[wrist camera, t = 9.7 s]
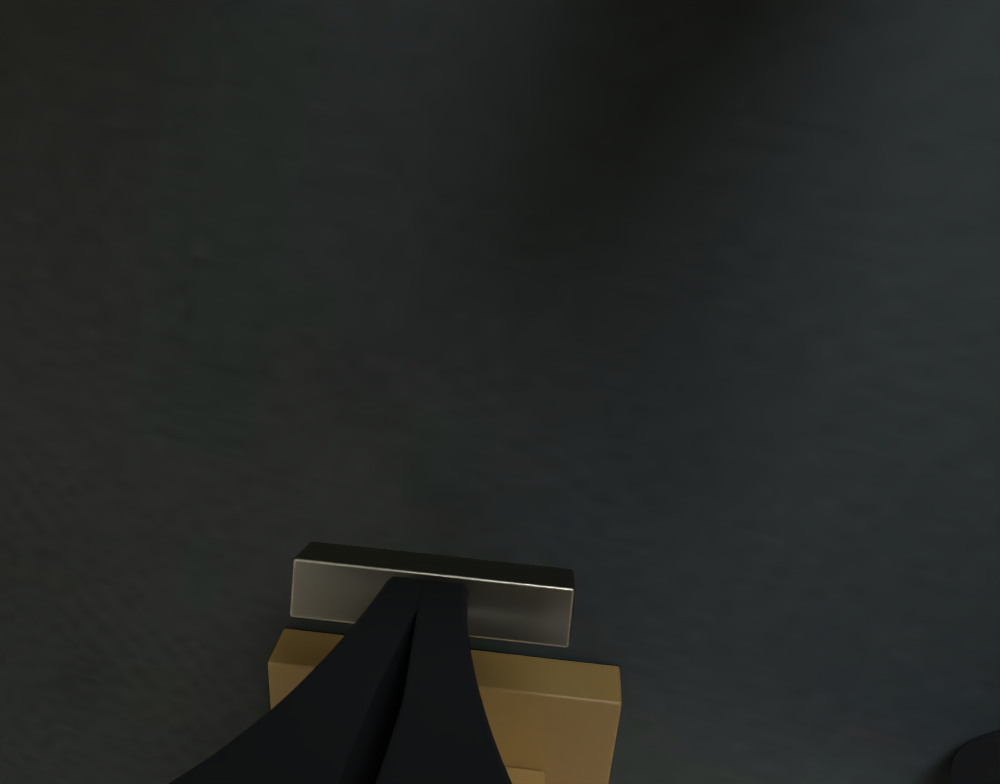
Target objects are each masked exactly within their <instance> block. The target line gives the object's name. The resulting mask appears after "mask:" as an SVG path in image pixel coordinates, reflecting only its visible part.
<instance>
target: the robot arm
mask: <svg viewBox="0 0 1000 784" xmlns="http://www.w3.org/2000/svg"><path fill="white" fill-rule="evenodd" d="M468 602H469V589H468V588H467V587H466V586H465V585H464V584H460V583H451V582H442V581H433V580H423V579H414V578H405V577H396V576H393V577H392V578H390V579H389V580H387V581H386V583H385V584H384V586H383V587H382V589H381V590H380V592H379V593H378V594H377V596H376V597H375V598H374V600H373V601H372V602H371V604H370V605H369V606H368V608H367V609H366V610H365V611H364V613H363V614H362V615H361V616H360V618H359V619H358V620H357V621H356V623H355V624H354V625H353V626H352V627H351V629H350V630H349V631H348V632H347V633H346V634H345V635H344V637H343V638H342V639H341V640H340V641H339V642H338V643H337V645H336V646H335V647H334V648H333V649H332V650H331V651H330V653H329V654H328V655H327V656H326V657H325V658H324V659H323V660H322V661H321V662H320V663H319V664H318V665H317V666H316V667H315V668H314V669H313V670H312V671H311V672H310V673H309V674H308V675H307V676H306V677H305V678H304V679H303V680H302V681H301V682H300V683H299V684H298V685H297V686H296V687H295V688H294V689H293V690H292V691H291V692H290V693H289V694H288V695H287V696H286V697H285V698H283V699H282V700H281V701H280V702H279V703H278V704H277V705H276V706H275V707H273V708H272V709H271V710H270V711H269V712H268V713H266V714H265V715H264V716H263V717H262V718H260V719H259V720H258V721H257V722H256V723H254V724H253V725H252V726H251V727H249V728H248V729H247V730H246V731H244V732H243V733H242V734H240V735H239V736H238V737H236V738H235V739H234V740H232V741H231V742H230V743H229V744H227V745H226V746H225V747H223V748H222V749H221V750H219V751H218V752H216V753H215V754H214V755H212V756H211V757H209V758H208V759H206V760H205V761H204V762H202V763H201V764H199V765H198V766H196V767H194V768H193V769H191V770H190V771H188V772H187V773H185V774H183V775H182V776H180V777H179V778H177V779H175V780H174V781H172V782H171V783H169V784H512V782H511V780H510V777H509V775H508V773H507V770H506V768H505V765H504V763H503V761H502V758H501V756H500V753H499V750H498V748H497V745H496V742H495V740H494V737H493V734H492V731H491V728H490V725H489V722H488V719H487V716H486V713H485V709H484V706H483V702H482V699H481V695H480V691H479V687H478V683H477V679H476V675H475V670H474V665H473V660H472V655H471V649H470V643H469V635H468V625H467V618H468Z"/></svg>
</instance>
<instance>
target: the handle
mask: <svg viewBox="0 0 1000 784" xmlns="http://www.w3.org/2000/svg"><path fill="white" fill-rule="evenodd" d="M393 576H396V577H405V578H414V579H423V580H433V581H442V582H451V583H460V584H464V585H465V586H466V587H467V588H468V589H469V602H468V618H467V625H468V635H469V637H477V638H486V639H495V640H504V641H513V642H522V643H531V644H540V645H548V646H557V647H568V646H569V645H570V636H571V626H572V617H573V607H574V597H575V582H574V572H573V570H571V569H563V568H554V567H545V566H535V565H526V564H517V563H508V562H498V561H489V560H480V559H470V558H461V557H452V556H442V555H433V554H424V553H415V552H405V551H396V550H387V549H377V548H368V547H359V546H350V545H340V544H331V543H322V542H310V543H309V544H308V545H307V546H306V547H305V548H304V549H303V550H302V551H301V552H300V553H299V554H298V555H297V556H296V557H295V558H294V560H293V572H292V588H291V603H290V616H292V617H300V618H309V619H318V620H326V621H335V622H344V623H353V624H355V623H356V621H357V620H358V619H359V618H360V616H361V615H362V614H363V613H364V611H365V610H366V609H367V608H368V606H369V605H370V604H371V602H372V601H373V600H374V598H375V597H376V596H377V594H378V593H379V592H380V590H381V589H382V587H383V586H384V584H385V583H386V581H387V580H389V579H390V578H392V577H393Z"/></svg>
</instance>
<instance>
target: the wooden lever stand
mask: <svg viewBox="0 0 1000 784" xmlns="http://www.w3.org/2000/svg"><path fill="white" fill-rule="evenodd" d="M343 637H344V635H338V634H329V633H320V632H311V631H302V630H294V629H284V630H283V632H282V634H281V636H280V638H279V640H278V642H277V644H276V646H275V649H274V651H273V653H272V655H271V657H270V659H269V661H268V676H269V690H270V705H271V709H272V708H273V707H275V706H276V705H277V704H278V703H279V702H280V701H281V700H282V699H283V698H285V697H286V696H287V695H288V694H289V693H290V692H291V691H292V690H293V689H294V688H295V687H296V686H297V685H298V684H299V683H300V682H301V681H302V680H303V679H304V678H305V677H306V676H307V675H308V674H309V673H310V672H311V671H312V670H313V669H314V668H315V667H316V666H317V665H318V664H319V663H320V662H321V661H322V660H323V659H324V658H325V657H326V656H327V655H328V654H329V653H330V651H331V650H332V649H333V648H334V647H335V646H336V645H337V643H338V642H339V641H340V640H341V639H342V638H343ZM471 655H472V660H473V665H474V670H475V675H476V679H477V683H478V687H479V691H480V695H481V699H482V702H483V706H484V709H485V713H486V716H487V719H488V722H489V725H490V728H491V731H492V734H493V737H494V740H495V742H496V745H497V748H498V750H499V753H500V756H501V758H502V761H503V763H504V765H505V768H506V770H507V773H508V775H509V777H510V780H511V782H512V784H608V782H609V776H610V770H611V765H612V759H613V753H614V747H615V741H616V735H617V729H618V723H619V718H620V712H621V706H622V699H621V681H620V669H619V667H618V666H611V665H602V664H593V663H584V662H576V661H567V660H558V659H549V658H540V657H532V656H523V655H514V654H505V653H496V652H488V651H479V650H471Z"/></svg>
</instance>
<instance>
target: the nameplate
mask: <svg viewBox="0 0 1000 784" xmlns="http://www.w3.org/2000/svg"><path fill="white" fill-rule="evenodd" d="M950 781H951V784H1000V730H999V731H996V732H992V733H989V734H986V735H983V736H980V737H977V738H975V739H973V740H971V741H970V742H968V743H967V744H965V745H964V746H963V747H962V748H961V749H960V750H959V751H958V752H957V754H956V755H955V757H954V759H953V761H952V764H951V769H950Z"/></svg>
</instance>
